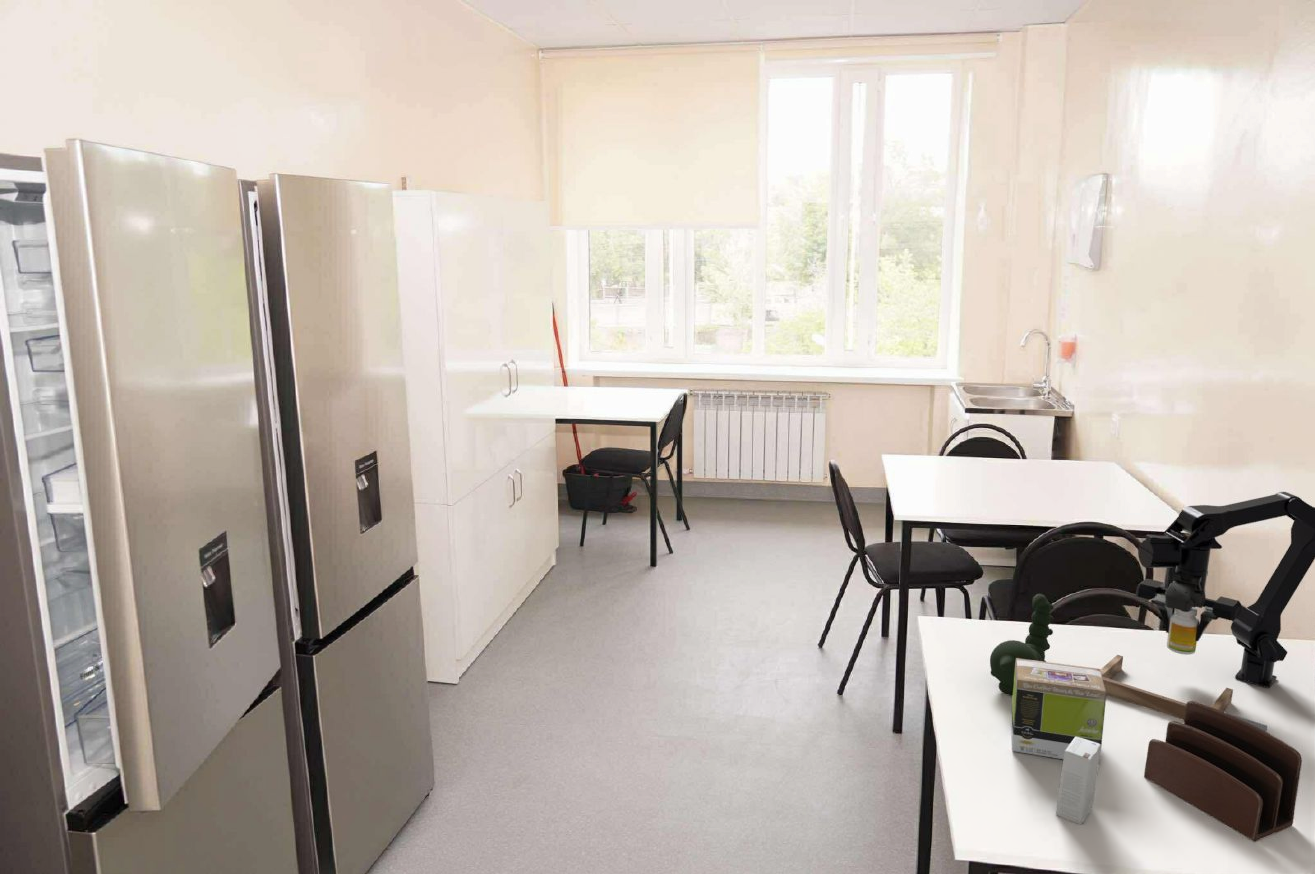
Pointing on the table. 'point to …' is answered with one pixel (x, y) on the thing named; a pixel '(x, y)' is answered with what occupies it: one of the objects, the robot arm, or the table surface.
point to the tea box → (1055, 707)
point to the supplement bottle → (1183, 632)
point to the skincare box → (1078, 779)
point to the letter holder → (1228, 770)
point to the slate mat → (1259, 725)
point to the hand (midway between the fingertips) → (1182, 636)
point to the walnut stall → (1150, 698)
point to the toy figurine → (1023, 646)
